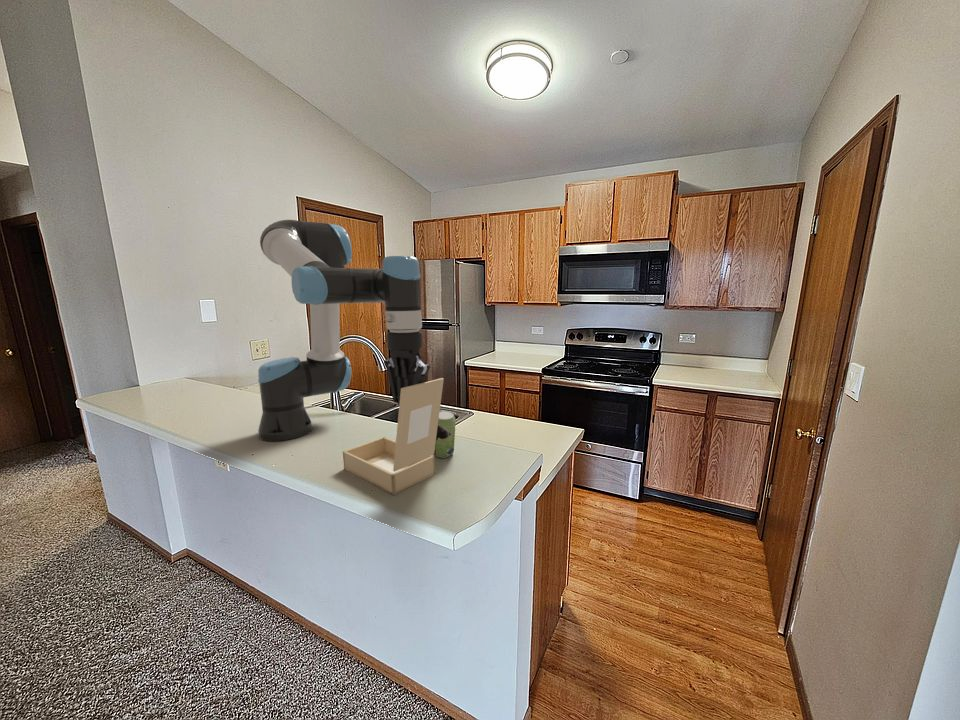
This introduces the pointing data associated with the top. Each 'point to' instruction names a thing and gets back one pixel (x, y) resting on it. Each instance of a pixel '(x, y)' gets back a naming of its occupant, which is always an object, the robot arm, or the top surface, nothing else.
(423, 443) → the lid
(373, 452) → the box
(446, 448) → the beverage can
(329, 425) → the top surface
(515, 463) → the top surface
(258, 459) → the top surface
